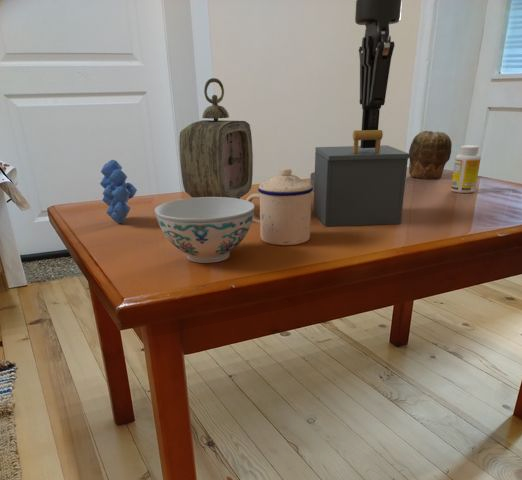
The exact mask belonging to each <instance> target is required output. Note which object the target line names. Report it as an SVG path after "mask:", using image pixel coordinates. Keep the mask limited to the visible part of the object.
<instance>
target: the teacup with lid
mask: <svg viewBox="0 0 522 480" xmlns="http://www.w3.org/2000/svg"><path fill="white" fill-rule="evenodd" d="M278 171H279V174H277V175H274V176H272V177H271V178H270V179H269V180H267V181H263V182H261V183H260V184H259V186H258V188H257V191H258V193H257V192H256V193H253V194H250V195H249V196H248V197H247V198H246V199H245V200H246V201H249V202H251V203H252V201H253V200H254V199H259V217H258V216H257V215H256V214H254V215H253V220H252V222H254V223H257V224H259V233H260V234H259V235H260V239H261V241H262V242H263V243H266V244H270V245H275V246H295V245H300V244H305V243H306V242H308V241H309V240H310V239H311V216H312V214H311V213H312V193H313V191H312V190H313V188H312V185H311V184H310V181H306V180H303V179H302V178H300V177H299V176H297V175H295V174H292V173H293V171H292V169H291V168H289V167H282V168H280V169H279V170H278Z"/></svg>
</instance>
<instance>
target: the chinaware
mask: <svg viewBox="0 0 522 480" xmlns="http://www.w3.org/2000/svg"><path fill="white" fill-rule="evenodd" d="M246 200H247V199H243V198H240V199H237V198H228V197H198V198H193V197H190V198H181V199H176V200H175V199H174V200H170V201H167V202H163V203H161V204H159V205H157V206H156V207H155V208H154V214H155V217H156V220H157V224H158V225H159V227H160V229H161V231H162V233H163V235H164V236H165V238H166V239H167V240H168V241H169V242H170V243H171V244H172V245H173V246H174V247H175V248H176V249H178V250H179V251H180V252H183V253H184V254H186V259H187V260H188V261H191V262H194V263H198V264H199V263H201V264H209V263H211V264H213V263H218V262H223V261H225V260H227V259H228V258H230V256H231V254H230V252H231V251H233V250H234V249H236V248H237V247H238V246H239V245H240V244H241V243H242V242H243V240H244V239H245V238H246V236H247V235H248V232H249V230H250V228H251V225H252V223H253V215H255V209H256V207H255V206H256V205H255V204H254V203H253V202H252V201H251V202H249V201H246Z"/></svg>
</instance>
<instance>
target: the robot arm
mask: <svg viewBox="0 0 522 480" xmlns="http://www.w3.org/2000/svg"><path fill="white" fill-rule="evenodd" d="M402 7H403V0H355V14H354V22H355V24H356V25H358V26H365V30H364V31H365V32H364V37H362V38H361V39H362V40H361V46H359V47H358V54H359V55H358V56H359V105H361V109H362V118H361V130H379V125H380V124H379V122H380V112H381V108H382V106H384V105H385V103H386V96H387V90H388V83H389V77H390V76H389V75H390V70H391V62H392V57H393V53H394V49H395V46H396V45H395V41H392V39H391V38H392V37H391V35H390V34H391V33H390V32H391V31H390V25H394V24H397V23H399V22H400V21H401V17H402ZM375 145H376V140H360V145H359V146H360V147H361V148H375Z"/></svg>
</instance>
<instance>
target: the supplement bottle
mask: <svg viewBox="0 0 522 480" xmlns="http://www.w3.org/2000/svg"><path fill="white" fill-rule="evenodd" d="M479 148H480V146H479V145H472V144H471V145H468V144H467V145H460V148H459V149H460V150H459V154H457V155H456V156H455V159H454V166H453V172H452V180H451V186H450V190H451V192H453V193H458V194H470V193H474V192H475V191H476V189H477V188H476V187H477V181H478V177H479V176H478V175H479V172H480V171H479V169H480V164H481V159H482V158H481V155H479Z"/></svg>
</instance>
